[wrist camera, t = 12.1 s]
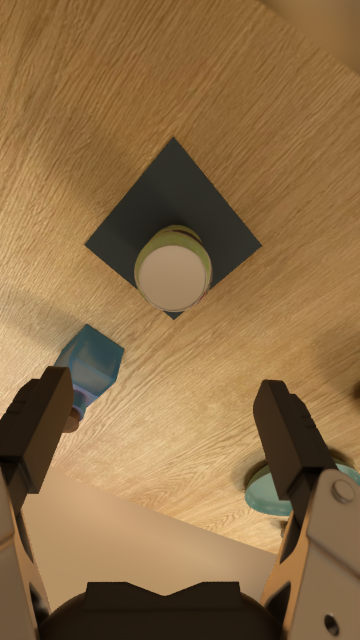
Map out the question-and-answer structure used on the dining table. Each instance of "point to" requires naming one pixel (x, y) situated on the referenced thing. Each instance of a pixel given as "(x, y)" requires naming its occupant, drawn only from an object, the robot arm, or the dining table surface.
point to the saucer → (265, 495)
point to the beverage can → (173, 269)
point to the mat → (173, 218)
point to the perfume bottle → (89, 370)
